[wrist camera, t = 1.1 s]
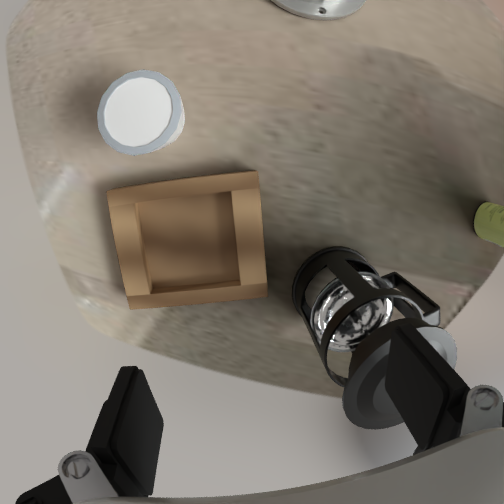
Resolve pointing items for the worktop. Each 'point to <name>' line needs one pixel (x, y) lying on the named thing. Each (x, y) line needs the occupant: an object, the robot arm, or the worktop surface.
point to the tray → (190, 240)
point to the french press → (365, 328)
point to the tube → (490, 223)
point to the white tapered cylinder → (140, 113)
